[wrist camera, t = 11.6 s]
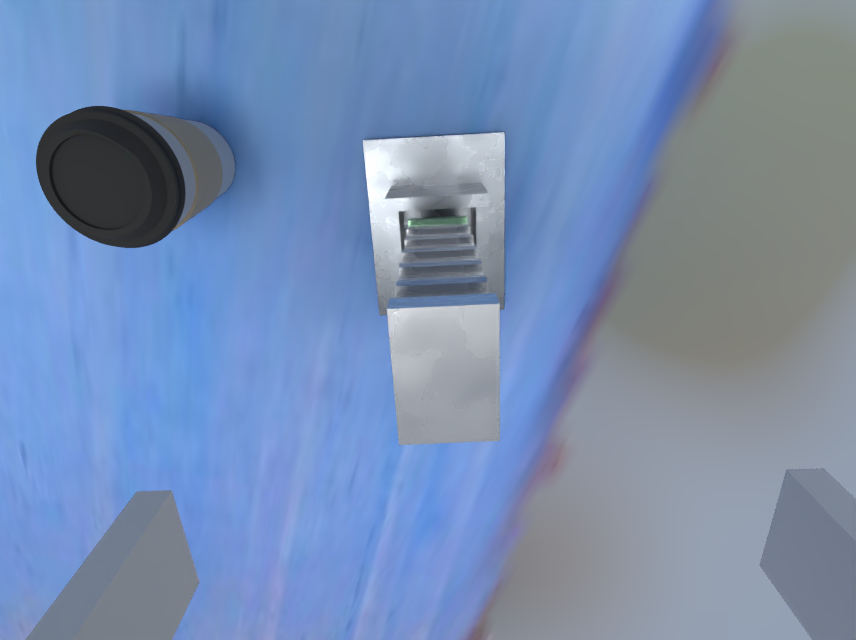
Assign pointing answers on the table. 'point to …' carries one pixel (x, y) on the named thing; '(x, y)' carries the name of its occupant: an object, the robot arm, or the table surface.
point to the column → (444, 338)
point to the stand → (436, 198)
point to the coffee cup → (131, 173)
